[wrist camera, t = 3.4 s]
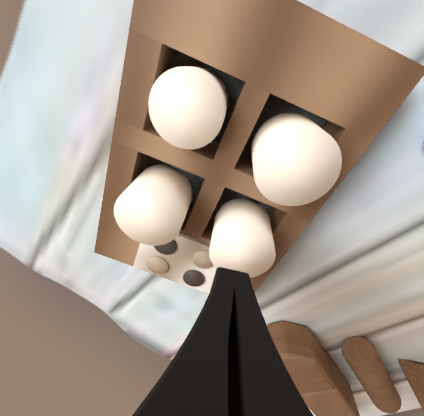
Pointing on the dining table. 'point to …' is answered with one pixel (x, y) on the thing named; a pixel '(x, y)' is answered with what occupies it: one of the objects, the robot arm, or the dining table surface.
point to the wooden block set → (333, 378)
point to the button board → (242, 112)
